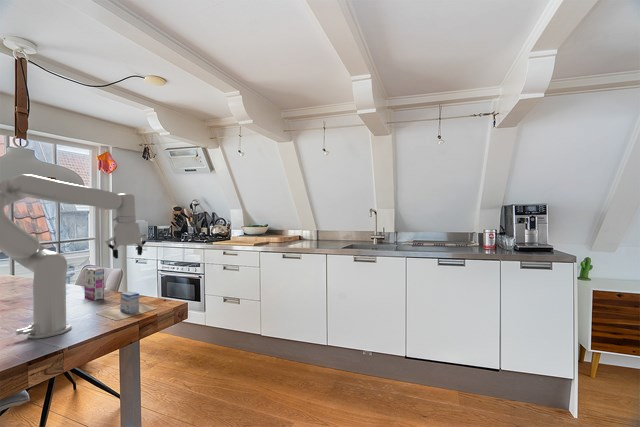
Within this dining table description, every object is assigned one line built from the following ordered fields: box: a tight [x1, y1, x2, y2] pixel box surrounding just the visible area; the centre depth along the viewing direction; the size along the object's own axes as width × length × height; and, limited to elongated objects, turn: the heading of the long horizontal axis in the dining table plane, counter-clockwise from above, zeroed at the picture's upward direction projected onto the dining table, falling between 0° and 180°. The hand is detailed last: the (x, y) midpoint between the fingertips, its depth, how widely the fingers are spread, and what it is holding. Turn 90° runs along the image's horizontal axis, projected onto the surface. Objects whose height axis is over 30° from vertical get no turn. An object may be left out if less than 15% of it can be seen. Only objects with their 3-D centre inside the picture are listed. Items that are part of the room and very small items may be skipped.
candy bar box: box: [83, 266, 105, 302], centre depth 162 cm, size 11×5×16 cm, turn 60°
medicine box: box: [119, 291, 140, 314], centre depth 139 cm, size 8×4×9 cm, turn 62°
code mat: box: [96, 303, 158, 322], centre depth 140 cm, size 18×18×1 cm
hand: (128, 256), depth 139 cm, fingers open, 9 cm apart
